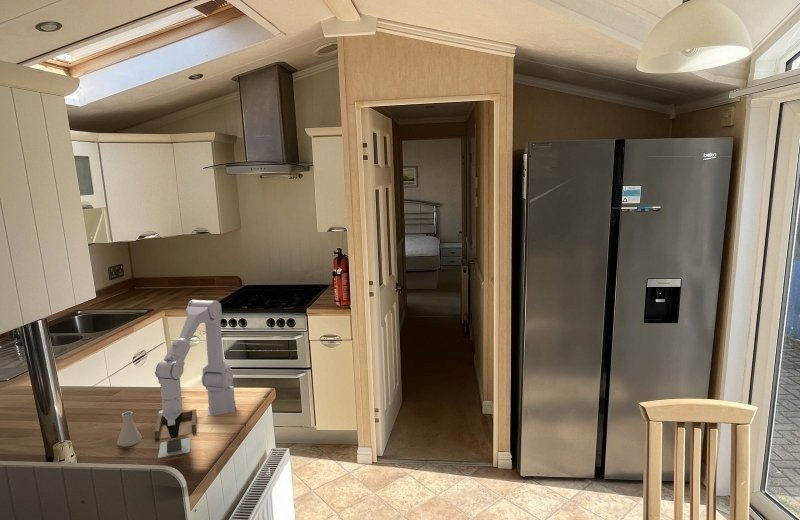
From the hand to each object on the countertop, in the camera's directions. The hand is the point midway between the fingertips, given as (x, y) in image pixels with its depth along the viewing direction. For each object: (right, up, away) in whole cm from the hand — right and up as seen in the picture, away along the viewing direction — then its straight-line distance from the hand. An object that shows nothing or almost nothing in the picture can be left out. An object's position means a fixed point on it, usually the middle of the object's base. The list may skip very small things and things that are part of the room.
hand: (174, 436), depth 160 cm
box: (-4, -1, +11) cm, 12 cm away
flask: (-16, -3, +2) cm, 16 cm away
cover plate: (+1, -4, -2) cm, 4 cm away
